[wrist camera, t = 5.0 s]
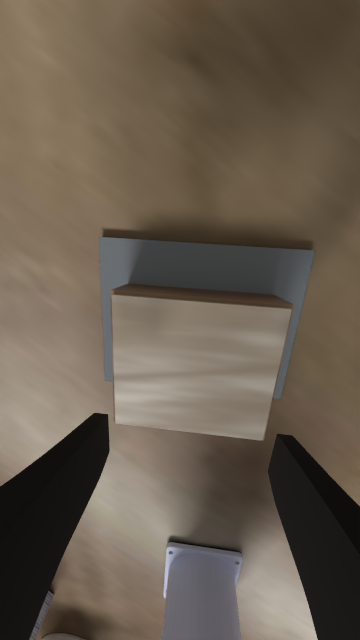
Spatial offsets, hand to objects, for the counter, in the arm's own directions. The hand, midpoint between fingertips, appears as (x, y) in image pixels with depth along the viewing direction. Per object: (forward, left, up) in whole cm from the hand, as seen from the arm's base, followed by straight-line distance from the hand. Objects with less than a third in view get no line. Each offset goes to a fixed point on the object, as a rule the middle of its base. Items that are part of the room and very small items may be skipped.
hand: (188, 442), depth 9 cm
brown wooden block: (-4, 0, -6) cm, 7 cm away
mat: (+3, 0, -8) cm, 8 cm away
